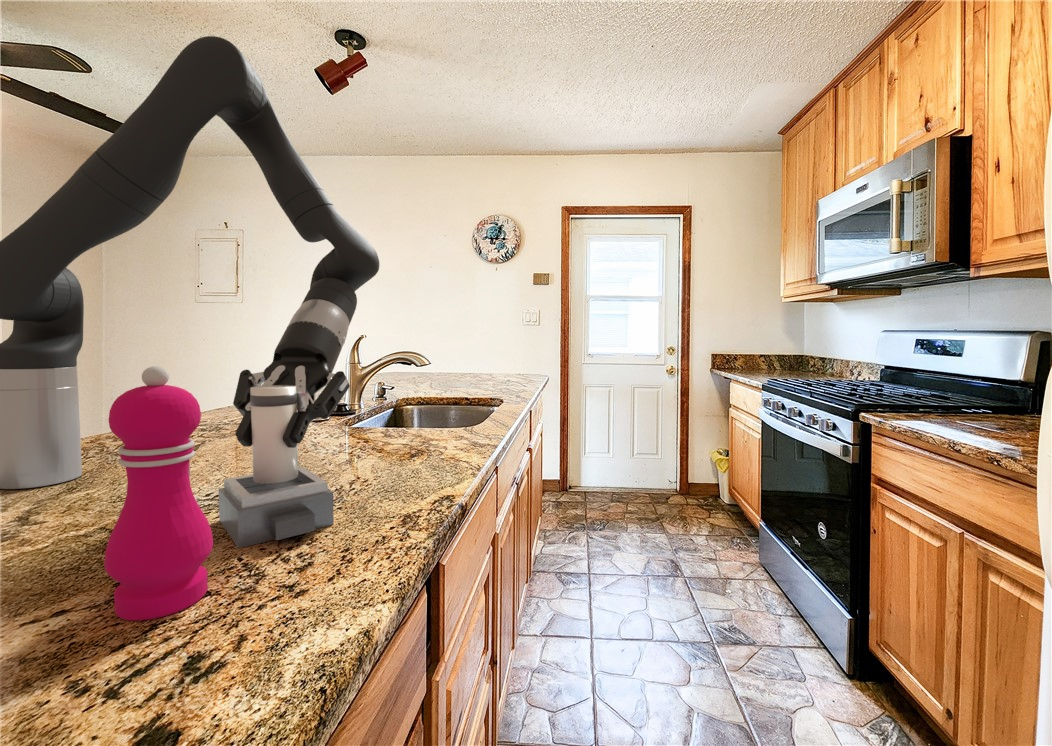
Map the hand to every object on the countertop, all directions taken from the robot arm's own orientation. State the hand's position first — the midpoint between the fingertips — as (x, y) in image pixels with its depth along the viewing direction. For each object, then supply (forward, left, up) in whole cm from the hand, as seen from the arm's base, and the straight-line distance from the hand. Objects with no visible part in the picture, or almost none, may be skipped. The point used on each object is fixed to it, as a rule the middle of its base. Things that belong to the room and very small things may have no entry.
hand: (266, 443), depth 54 cm
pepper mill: (+11, -11, -10) cm, 18 cm away
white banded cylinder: (-1, +1, -5) cm, 5 cm away
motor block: (0, +1, -10) cm, 10 cm away
